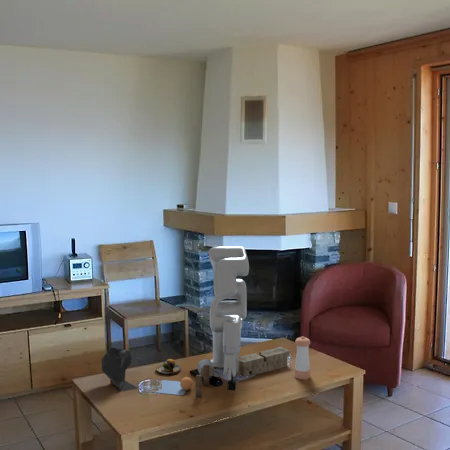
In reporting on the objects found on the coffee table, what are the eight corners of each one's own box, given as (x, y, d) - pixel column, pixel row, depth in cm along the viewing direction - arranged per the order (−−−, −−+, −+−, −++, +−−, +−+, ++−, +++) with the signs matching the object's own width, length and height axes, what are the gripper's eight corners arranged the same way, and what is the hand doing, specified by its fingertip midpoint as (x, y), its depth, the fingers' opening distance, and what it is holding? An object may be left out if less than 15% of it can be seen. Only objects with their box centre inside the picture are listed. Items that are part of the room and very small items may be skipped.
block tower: (241, 380, 259) (290, 366, 275) (241, 363, 258) (290, 349, 274) (232, 375, 266) (280, 361, 282) (231, 358, 265) (279, 345, 281)
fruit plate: (154, 368, 272) (153, 353, 271) (177, 366, 276) (177, 351, 275) (159, 377, 261) (158, 362, 260) (183, 374, 264) (183, 359, 264)
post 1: (196, 394, 240) (196, 374, 239) (202, 395, 240) (202, 374, 239) (195, 397, 238) (195, 376, 237) (201, 397, 237) (201, 377, 236)
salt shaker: (305, 372, 266) (305, 333, 264) (313, 378, 259) (313, 337, 257) (291, 374, 263) (292, 335, 261) (299, 380, 257) (299, 339, 255)
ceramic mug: (200, 380, 256) (200, 364, 256) (197, 374, 264) (197, 359, 263) (221, 379, 258) (222, 363, 258) (218, 373, 266) (218, 357, 265)
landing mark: (162, 380, 256) (162, 380, 256) (191, 383, 253) (191, 382, 253) (151, 392, 243) (151, 392, 243) (182, 395, 240) (182, 394, 240)
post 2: (204, 383, 253) (204, 364, 252) (209, 384, 252) (209, 364, 251) (202, 385, 250) (202, 366, 249) (208, 386, 250) (208, 366, 249)
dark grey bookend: (129, 376, 261) (128, 338, 259) (138, 388, 247) (138, 348, 246) (98, 381, 255) (97, 343, 253) (106, 393, 241) (105, 353, 239)
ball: (195, 385, 248) (183, 387, 249) (191, 373, 247) (180, 376, 248) (193, 390, 243) (181, 393, 244) (189, 379, 242) (177, 381, 243)
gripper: (227, 342, 248) (227, 382, 250) (219, 353, 234) (219, 396, 236) (243, 343, 246) (243, 384, 248) (237, 354, 232) (237, 397, 234)
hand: (231, 389), depth 242 cm, fingers closed
